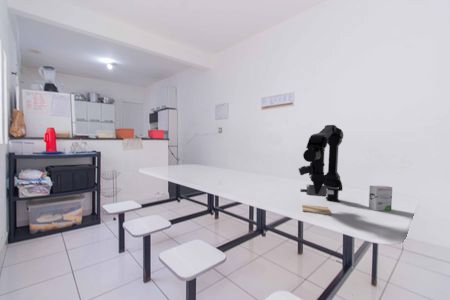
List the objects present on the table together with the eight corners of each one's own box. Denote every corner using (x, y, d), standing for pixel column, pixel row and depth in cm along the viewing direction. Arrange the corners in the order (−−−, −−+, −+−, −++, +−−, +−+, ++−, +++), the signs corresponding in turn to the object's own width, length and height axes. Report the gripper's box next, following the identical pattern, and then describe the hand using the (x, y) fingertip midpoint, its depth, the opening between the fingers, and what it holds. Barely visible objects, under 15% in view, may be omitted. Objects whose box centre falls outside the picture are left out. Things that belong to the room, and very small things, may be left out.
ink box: (383, 207, 110) (384, 184, 110) (392, 210, 105) (393, 186, 105) (368, 207, 109) (369, 184, 109) (375, 210, 104) (377, 186, 104)
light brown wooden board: (302, 205, 110) (302, 204, 110) (327, 208, 106) (327, 207, 106) (302, 211, 101) (302, 210, 101) (330, 214, 97) (330, 213, 97)
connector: (300, 192, 108) (300, 183, 107) (332, 195, 103) (332, 186, 103) (300, 194, 104) (300, 185, 104) (333, 197, 99) (334, 187, 99)
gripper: (299, 158, 114) (298, 187, 115) (300, 161, 96) (298, 195, 97) (322, 159, 111) (321, 189, 111) (327, 162, 93) (325, 198, 94)
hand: (316, 192), depth 103 cm, fingers closed on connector, 4 cm apart
